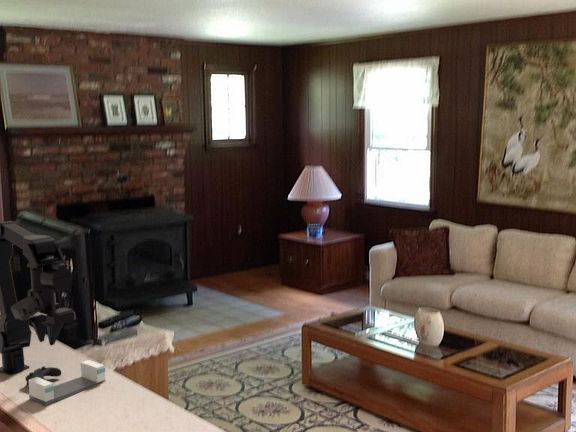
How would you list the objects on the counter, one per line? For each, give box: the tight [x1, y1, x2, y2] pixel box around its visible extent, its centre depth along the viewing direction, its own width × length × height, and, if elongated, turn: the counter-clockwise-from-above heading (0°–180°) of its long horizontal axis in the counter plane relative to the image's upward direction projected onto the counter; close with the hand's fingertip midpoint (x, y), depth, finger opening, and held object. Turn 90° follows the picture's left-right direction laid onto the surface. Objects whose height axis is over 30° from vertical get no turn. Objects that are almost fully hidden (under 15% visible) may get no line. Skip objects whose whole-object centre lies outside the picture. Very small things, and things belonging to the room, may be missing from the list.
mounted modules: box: [28, 359, 106, 402], centre depth 180 cm, size 7×18×4 cm, turn 142°
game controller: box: [24, 365, 62, 386], centre depth 186 cm, size 10×5×6 cm
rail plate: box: [28, 376, 106, 406], centre depth 181 cm, size 7×18×1 cm, turn 142°
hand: (46, 343), depth 184 cm, fingers open, 4 cm apart
